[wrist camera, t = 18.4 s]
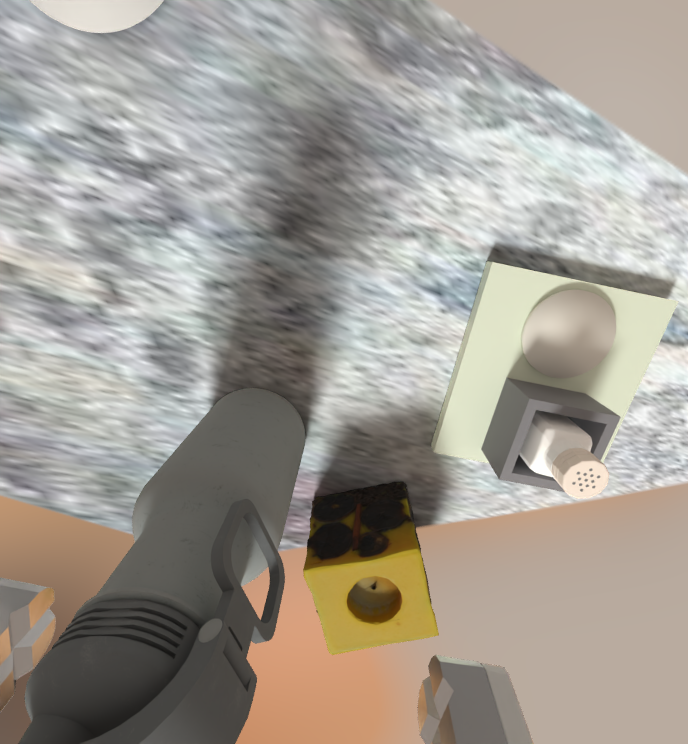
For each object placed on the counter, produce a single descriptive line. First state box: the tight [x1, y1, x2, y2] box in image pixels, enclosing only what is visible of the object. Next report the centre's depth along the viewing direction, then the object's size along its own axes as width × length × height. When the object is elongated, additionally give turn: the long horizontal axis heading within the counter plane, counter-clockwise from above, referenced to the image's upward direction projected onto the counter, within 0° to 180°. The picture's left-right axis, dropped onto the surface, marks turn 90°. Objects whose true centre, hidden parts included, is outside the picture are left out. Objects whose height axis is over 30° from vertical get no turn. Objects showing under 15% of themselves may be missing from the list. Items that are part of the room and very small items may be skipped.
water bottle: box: [18, 388, 305, 744], centre depth 26 cm, size 10×10×28 cm
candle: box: [303, 482, 439, 655], centre depth 38 cm, size 10×10×10 cm
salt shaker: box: [519, 410, 609, 499], centre depth 32 cm, size 4×4×10 cm
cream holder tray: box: [431, 261, 679, 492], centre depth 34 cm, size 18×16×6 cm
